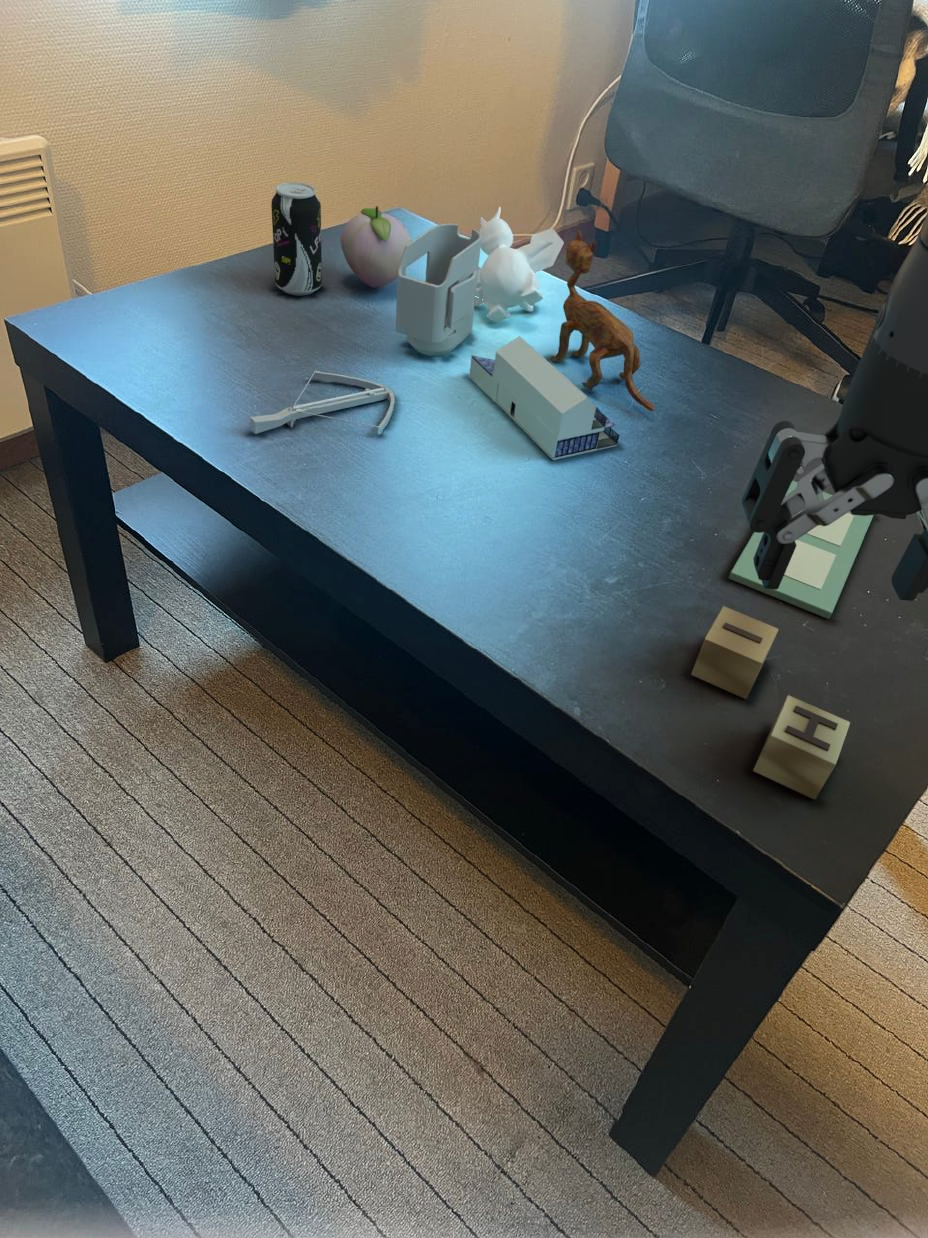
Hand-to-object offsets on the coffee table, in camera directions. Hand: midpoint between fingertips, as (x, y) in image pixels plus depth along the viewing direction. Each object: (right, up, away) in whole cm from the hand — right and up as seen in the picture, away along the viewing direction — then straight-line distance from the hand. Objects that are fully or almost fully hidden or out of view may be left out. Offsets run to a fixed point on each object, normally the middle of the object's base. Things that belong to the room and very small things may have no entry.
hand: (834, 586), depth 57 cm
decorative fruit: (-34, +40, +61) cm, 81 cm away
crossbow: (-37, +19, +38) cm, 56 cm away
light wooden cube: (+1, -13, +9) cm, 15 cm away
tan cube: (-2, -6, +16) cm, 17 cm away
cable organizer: (-27, +30, +51) cm, 64 cm away
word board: (+9, +5, +29) cm, 30 cm away
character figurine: (-19, +37, +60) cm, 73 cm away
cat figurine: (-8, +25, +48) cm, 54 cm away
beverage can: (-44, +39, +58) cm, 83 cm away
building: (-16, +20, +42) cm, 49 cm away
